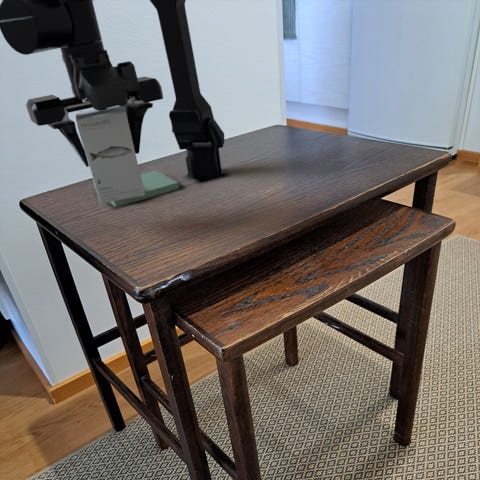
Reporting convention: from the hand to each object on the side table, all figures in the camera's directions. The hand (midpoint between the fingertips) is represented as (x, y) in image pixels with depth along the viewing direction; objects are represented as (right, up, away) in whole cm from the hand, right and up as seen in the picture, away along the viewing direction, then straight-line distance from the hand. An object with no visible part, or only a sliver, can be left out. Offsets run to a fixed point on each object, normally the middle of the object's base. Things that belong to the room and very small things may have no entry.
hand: (112, 159), depth 70 cm
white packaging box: (+1, -5, +3) cm, 6 cm away
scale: (-2, +2, +25) cm, 25 cm away
